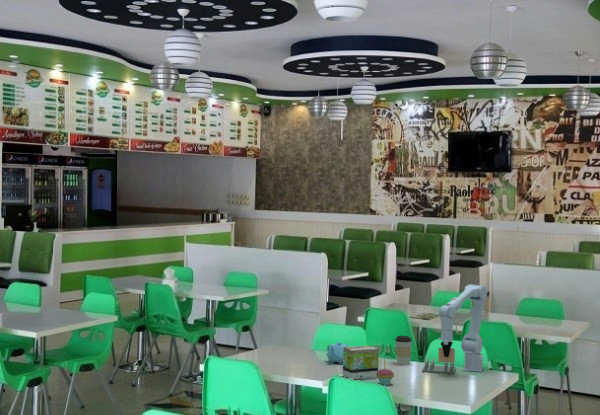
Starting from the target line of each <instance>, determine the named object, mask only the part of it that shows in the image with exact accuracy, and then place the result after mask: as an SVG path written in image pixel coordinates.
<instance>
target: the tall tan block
mask: <svg viewBox="0 0 600 415" xmlns="http://www.w3.org/2000/svg"><path fill="white" fill-rule="evenodd" d="M437 349H438V351H437V352H438V353H437V354H438V355H437V356H438V357H437V360H438V363H445V362H448V364H449V363H450V364H451V363H454V364H455V362H456V358H455V357H456V354H455V353H456V348H455V347H451V348H450V353H449V357H444V353H443V348H442V347H438V348H437Z"/></svg>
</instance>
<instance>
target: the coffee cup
mask: <svg viewBox="0 0 600 415" xmlns="http://www.w3.org/2000/svg"><path fill="white" fill-rule="evenodd" d="M394 341H395V346H394V347H395V356H396V365H398V364H399V366H409V365H410V364H411V362H410V360H411V355H412V342H413V340H412V338H411V337H410V336H409V335H397V336H396V338H395V339H394Z"/></svg>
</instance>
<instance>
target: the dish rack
mask: <svg viewBox="0 0 600 415" xmlns="http://www.w3.org/2000/svg"><path fill="white" fill-rule="evenodd" d="M429 361H430V360H429V357H426V359H425V360H424V365H423V368H422V370H421V372H422V373H425V372H427V374H428V373H429V374H440V373H442V375H455V372H456V369H457V367H456V366H455V363H450V364H449V362H443V364H444V365H435V358H432V359H431V362H429ZM429 363H430V364H429ZM449 365H450V366H449Z"/></svg>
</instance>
